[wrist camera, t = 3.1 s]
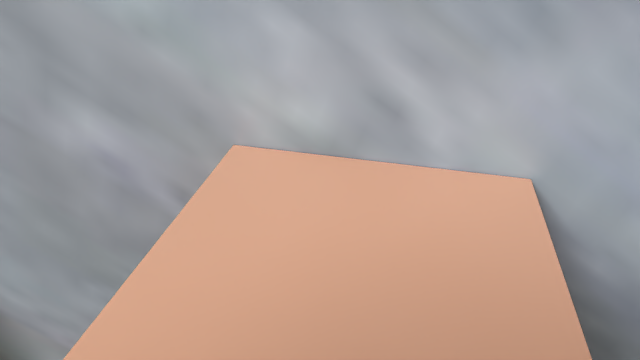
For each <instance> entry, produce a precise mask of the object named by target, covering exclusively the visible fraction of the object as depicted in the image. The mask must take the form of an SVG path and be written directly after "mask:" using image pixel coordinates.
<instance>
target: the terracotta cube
mask: <svg viewBox="0 0 640 360" xmlns="http://www.w3.org/2000/svg"><path fill="white" fill-rule="evenodd" d="M63 360H592V358H591V355H590V352H589V349H588V346H587V343H586V340H585V337H584V334H583V331H582V329H581V326H580V323H579V320H578V317H577V314H576V311H575V308H574V305H573V302H572V299H571V296H570V293H569V290H568V287H567V284H566V281H565V278H564V275H563V273H562V270H561V267H560V264H559V261H558V258H557V255H556V252H555V249H554V246H553V243H552V240H551V237H550V234H549V231H548V228H547V225H546V222H545V220H544V217H543V214H542V211H541V208H540V205H539V202H538V199H537V196H536V193H535V190H534V187H533V184H532V181H531V179H524V178H515V177H507V176H498V175H489V174H481V173H472V172H464V171H455V170H446V169H438V168H429V167H420V166H412V165H403V164H394V163H386V162H377V161H369V160H360V159H351V158H343V157H334V156H325V155H317V154H308V153H299V152H291V151H282V150H274V149H265V148H256V147H248V146H239V145H233V146H232V148H231V149H230V150H229V151H228V153H227V154H226V155H225V156H224V158H223V159H222V160H221V161H220V163H219V164H218V165H217V166H216V168H215V169H214V170H213V171H212V173H211V174H210V175H209V177H208V178H207V179H206V180H205V182H204V183H203V184H202V185H201V187H200V188H199V189H198V190H197V192H196V193H195V194H194V195H193V197H192V198H191V199H190V200H189V202H188V203H187V204H186V205H185V207H184V208H183V209H182V211H181V212H180V213H179V214H178V216H177V217H176V218H175V219H174V221H173V222H172V223H171V224H170V226H169V227H168V228H167V229H166V231H165V232H164V233H163V234H162V236H161V237H160V238H159V239H158V241H157V242H156V243H155V245H154V246H153V247H152V248H151V250H150V251H149V252H148V253H147V255H146V256H145V257H144V258H143V260H142V261H141V262H140V263H139V265H138V266H137V267H136V268H135V270H134V271H133V272H132V273H131V275H130V276H129V277H128V279H127V280H126V281H125V282H124V284H123V285H122V286H121V287H120V289H119V290H118V291H117V292H116V294H115V295H114V296H113V297H112V299H111V300H110V301H109V302H108V304H107V305H106V306H105V307H104V309H103V310H102V311H101V313H100V314H99V315H98V316H97V318H96V319H95V320H94V321H93V323H92V324H91V325H90V326H89V328H88V329H87V330H86V331H85V333H84V334H83V335H82V336H81V338H80V339H79V340H78V341H77V343H76V344H75V345H74V346H73V348H72V349H71V350H70V352H69V353H68V354H67V355H66V357H65V358H64V359H63Z"/></svg>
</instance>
